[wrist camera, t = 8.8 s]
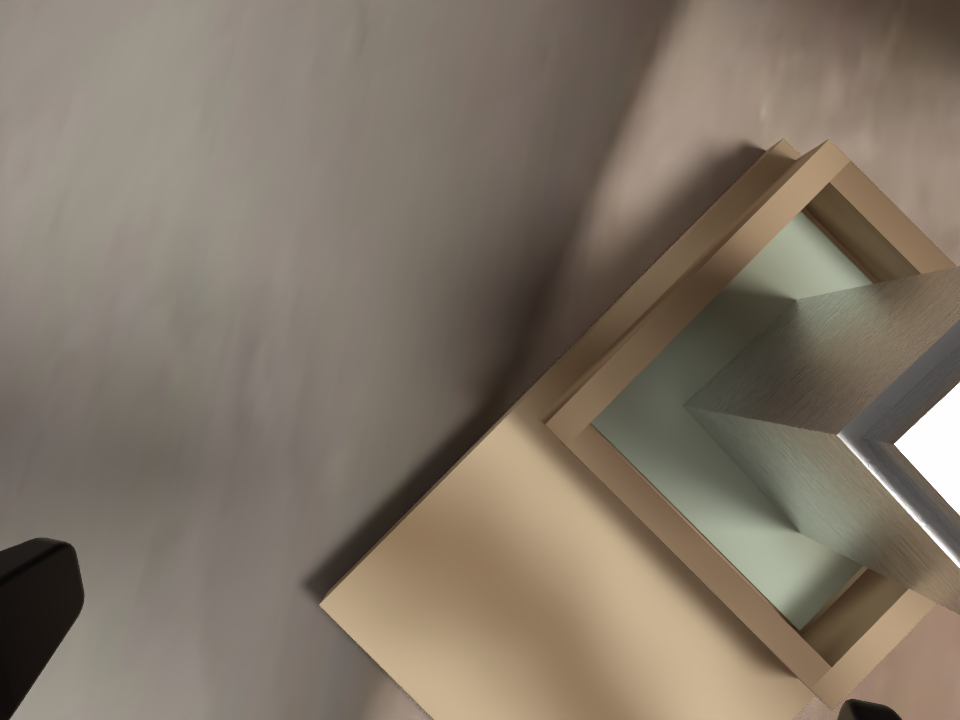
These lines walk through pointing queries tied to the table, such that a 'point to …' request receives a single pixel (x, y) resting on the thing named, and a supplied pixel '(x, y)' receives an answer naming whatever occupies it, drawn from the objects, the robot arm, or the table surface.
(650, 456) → the wooden tray
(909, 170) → the table surface
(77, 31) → the table surface
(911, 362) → the grey lidded container
